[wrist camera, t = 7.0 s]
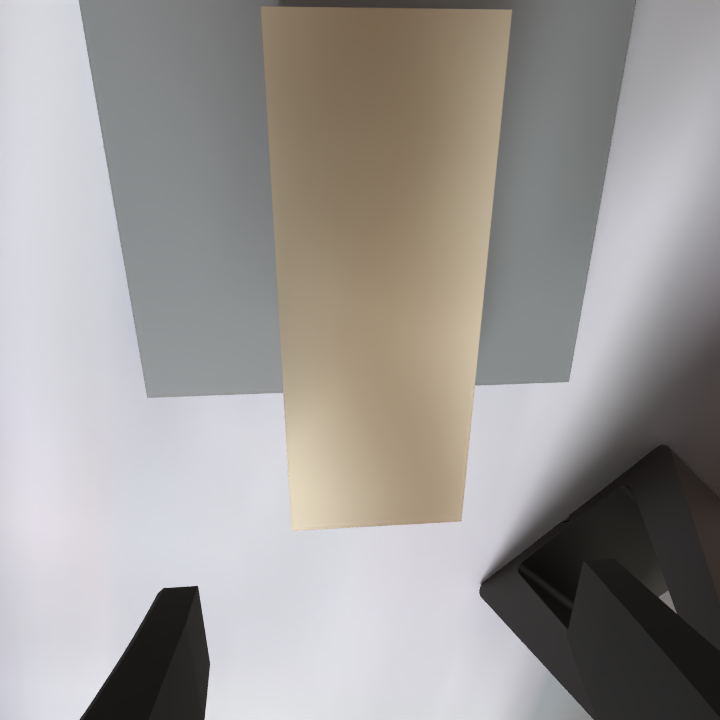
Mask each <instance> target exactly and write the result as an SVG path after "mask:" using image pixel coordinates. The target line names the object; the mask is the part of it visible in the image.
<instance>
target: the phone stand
mask: <svg viewBox="0 0 720 720" xmlns="http://www.w3.org/2000/svg"><path fill="white" fill-rule="evenodd" d="M602 559H615V560H616V561H617V562H619V563H620V564H621V565H622V566H623V567H624V568H626V569H627V570H628V571H629V572H630V573H631V574H632V575H634V576H635V577H636V578H637V579H638V580H639V581H640V582H641V583H642V584H644V585H645V586H646V587H647V588H648V589H649V590H650V591H651V592H653V593H654V594H655V595H656V596H657V597H659V596H660V595H662V594H663V593H665V592H666V591H668V590H669V593H670V595H671V598H672V601H673V604H674V607H675V609H676V612H677V615H678V616H680V617H681V618H682V619H683V620H684V621H685V622H686V623H688V624H689V625H690V626H691V627H692V628H693V629H695V630H696V631H697V632H698V633H699V634H700V635H702V636H703V637H704V638H705V639H706V640H707V641H709V642H710V643H711V644H712V645H713V646H714V647H716V648H717V649H718V650H719V651H720V499H719V498H718V497H717V496H716V495H715V494H714V493H713V492H712V491H711V490H710V489H709V488H708V487H707V486H706V485H705V484H704V482H703V481H702V480H701V479H700V478H699V477H698V476H697V475H696V474H695V473H694V472H693V471H692V470H691V469H690V468H689V467H688V466H687V465H686V464H685V463H684V462H683V461H682V460H681V459H680V458H679V457H678V456H677V455H676V454H675V453H674V452H673V451H672V450H671V449H670V448H669V447H667V446H659V447H657V448H655V449H654V450H653V451H652V452H650V453H649V454H648V455H646V456H645V457H644V458H643V459H641V460H640V461H639V462H637V463H636V464H635V465H634V466H632V467H631V468H630V469H628V470H627V471H626V472H625V473H623V474H622V475H621V476H620V477H618V478H617V479H616V480H614V481H613V482H612V483H611V484H609V485H608V486H607V487H605V488H604V489H603V490H602V491H600V492H599V493H598V494H596V495H595V496H594V497H593V498H591V499H590V500H589V501H587V502H586V503H585V504H584V505H582V506H581V507H580V508H578V509H577V510H576V511H575V512H573V513H572V514H571V515H570V519H569V521H568V522H566V523H563V522H560V523H559V524H558V525H557V526H555V527H554V528H553V529H552V530H550V531H549V532H548V533H546V534H545V535H544V536H543V537H541V538H540V539H539V540H537V541H536V542H535V543H534V544H532V545H531V546H530V547H528V548H527V549H526V550H525V551H523V552H522V553H521V554H519V555H518V556H517V557H516V558H514V559H513V560H512V561H510V562H509V563H508V564H507V565H505V566H504V567H503V568H501V569H500V570H499V571H498V572H496V573H495V574H494V575H492V576H491V577H490V578H489V579H487V580H486V581H485V582H484V583H483V584H482V585H481V587H480V596H481V597H482V598H483V599H484V601H485V602H486V603H487V604H488V605H489V606H490V607H491V608H492V609H493V610H494V611H495V613H496V614H497V615H498V616H499V617H500V618H501V619H502V620H503V621H504V622H505V623H506V625H507V626H508V627H509V628H510V629H511V630H512V631H513V632H514V633H515V634H516V635H517V637H518V638H519V639H520V640H521V641H522V642H523V643H524V644H525V645H526V646H527V647H528V648H529V650H530V651H531V652H532V653H533V654H534V655H535V656H536V657H537V658H538V659H539V660H540V662H541V663H542V664H543V665H544V666H545V667H546V668H547V669H548V670H549V671H550V672H551V674H552V675H553V676H554V677H555V678H556V679H557V680H558V681H559V682H560V683H561V684H562V686H563V687H564V688H565V689H566V690H567V691H568V692H569V693H570V694H571V695H572V696H573V697H574V699H575V700H576V701H577V702H578V703H579V704H580V705H581V706H582V707H583V708H584V709H585V711H586V712H587V713H588V714H589V715H590V716H591V717H592V718H593V719H594V720H599V719H598V717H597V715H596V713H595V711H594V709H593V707H592V704H591V702H590V700H589V698H588V696H587V694H586V691H585V688H584V686H583V683H582V680H581V677H580V675H579V672H578V669H577V666H576V663H575V660H574V657H573V654H572V651H571V648H570V645H569V642H568V639H567V632H568V628H569V623H570V619H571V614H572V610H573V605H574V601H575V596H576V592H577V587H578V583H579V578H580V574H581V569H582V565H583V561H587V560H602Z"/></svg>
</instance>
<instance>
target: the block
mask: <svg viewBox="0 0 720 720" xmlns="http://www.w3.org/2000/svg"><path fill="white" fill-rule="evenodd" d="M511 17H512V10H497V9H420V8H342V7H265V6H261V18H262V35H263V52H264V69H265V86H266V103H267V120H268V137H269V154H270V171H271V188H272V205H273V222H274V239H275V256H276V273H277V290H278V307H279V324H280V341H281V358H282V375H283V392H284V409H285V426H286V443H287V460H288V477H289V494H290V511H291V528H292V531H297V530H315V529H333V528H351V527H369V526H387V525H404V524H422V523H440V522H458V521H461V519H462V509H463V499H464V489H465V479H466V469H467V459H468V449H469V439H470V429H471V419H472V409H473V398H474V388H475V378H476V368H477V358H478V348H479V338H480V328H481V318H482V308H483V298H484V288H485V278H486V268H487V258H488V248H489V238H490V228H491V218H492V208H493V197H494V187H495V177H496V167H497V157H498V147H499V137H500V127H501V117H502V107H503V97H504V87H505V77H506V67H507V57H508V47H509V37H510V27H511Z"/></svg>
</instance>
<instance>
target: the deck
mask: <svg viewBox="0 0 720 720" xmlns="http://www.w3.org/2000/svg"><path fill="white" fill-rule="evenodd" d="M79 4H80V10H81V16H82V22H83V27H84V33H85V39H86V45H87V51H88V56H89V62H90V68H91V74H92V80H93V85H94V91H95V97H96V103H97V109H98V114H99V120H100V126H101V132H102V138H103V143H104V149H105V155H106V161H107V167H108V172H109V178H110V184H111V190H112V195H113V201H114V207H115V213H116V219H117V224H118V230H119V236H120V242H121V248H122V253H123V259H124V265H125V271H126V277H127V282H128V288H129V294H130V300H131V306H132V311H133V317H134V323H135V329H136V335H137V340H138V346H139V352H140V358H141V364H142V369H143V375H144V381H145V387H146V393H147V398H154V397H181V396H207V395H234V394H260V393H284V392H283V375H282V358H281V341H280V324H279V307H278V290H277V273H276V256H275V239H274V222H273V205H272V188H271V171H270V154H269V137H268V120H267V103H266V86H265V69H264V52H263V35H262V18H261V6H265V7H342V8H420V9H497V10H512V17H511V27H510V37H509V47H508V57H507V67H506V77H505V87H504V97H503V107H502V117H501V127H500V137H499V147H498V157H497V167H496V177H495V187H494V197H493V208H492V218H491V228H490V238H489V248H488V258H487V268H486V278H485V288H484V298H483V308H482V318H481V328H480V338H479V348H478V358H477V368H476V378H475V385H500V384H527V383H553V382H569V378H570V372H571V366H572V361H573V355H574V349H575V344H576V338H577V333H578V327H579V321H580V316H581V310H582V304H583V299H584V293H585V287H586V282H587V276H588V270H589V265H590V259H591V253H592V248H593V242H594V236H595V231H596V225H597V219H598V214H599V208H600V202H601V197H602V191H603V185H604V180H605V174H606V168H607V163H608V157H609V151H610V146H611V140H612V134H613V129H614V123H615V117H616V112H617V106H618V100H619V95H620V89H621V83H622V78H623V72H624V66H625V61H626V55H627V49H628V44H629V38H630V32H631V27H632V21H633V16H634V10H635V4H636V0H79Z"/></svg>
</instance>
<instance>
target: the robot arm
mask: <svg viewBox="0 0 720 720" xmlns="http://www.w3.org/2000/svg"><path fill="white" fill-rule="evenodd" d="M567 639H568V642H569V645H570V648H571V651H572V654H573V657H574V660H575V663H576V666H577V669H578V672H579V675H580V677H581V680H582V683H583V686H584V688H585V691H586V694H587V696H588V698H589V700H590V702H591V704H592V707H593V709H594V711H595V713H596V715H597V717H598V719H599V720H720V651H719V650H718V649H717V648H716V647H714V646H713V645H712V644H711V643H710V642H709V641H707V640H706V639H705V638H704V637H703V636H702V635H700V634H699V633H698V632H697V631H696V630H695V629H693V628H692V627H691V626H690V625H689V624H688V623H686V622H685V621H684V620H683V619H682V618H681V617H680V616H678V615H677V614H676V613H675V612H674V611H673V610H672V609H671V608H669V607H668V606H667V605H666V604H665V603H664V602H663V601H662V600H660V599H659V598H658V597H657V596H656V595H655V594H654V593H653V592H651V591H650V590H649V589H648V588H647V587H646V586H645V585H644V584H642V583H641V582H640V581H639V580H638V579H637V578H636V577H635V576H634V575H632V574H631V573H630V572H629V571H628V570H627V569H626V568H624V567H623V566H622V565H621V564H620V563H619V562H617V561H616V560H615V559H602V560H587V561H583V565H582V569H581V574H580V578H579V583H578V587H577V592H576V596H575V601H574V605H573V610H572V614H571V619H570V623H569V628H568V632H567ZM209 668H210V661H209V654H208V648H207V641H206V635H205V629H204V622H203V616H202V609H201V603H200V596H199V590H198V586H191V587H176V588H163V589H162V590H161V591H160V592H159V593H158V594H157V596H156V598H155V600H154V602H153V604H152V605H151V607H150V609H149V611H148V613H147V614H146V616H145V618H144V620H143V621H142V623H141V625H140V627H139V628H138V630H137V632H136V633H135V635H134V637H133V638H132V640H131V642H130V643H129V645H128V647H127V648H126V650H125V652H124V653H123V655H122V656H121V658H120V660H119V661H118V663H117V664H116V666H115V667H114V669H113V670H112V672H111V674H110V675H109V677H108V678H107V680H106V681H105V683H104V684H103V686H102V687H101V689H100V690H99V692H98V693H97V695H96V697H95V698H94V700H93V701H92V703H91V704H90V706H89V707H88V708H87V710H86V711H85V713H84V714H83V716H82V717H81V718H80V720H204V719H205V709H206V700H207V689H208V679H209Z"/></svg>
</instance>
